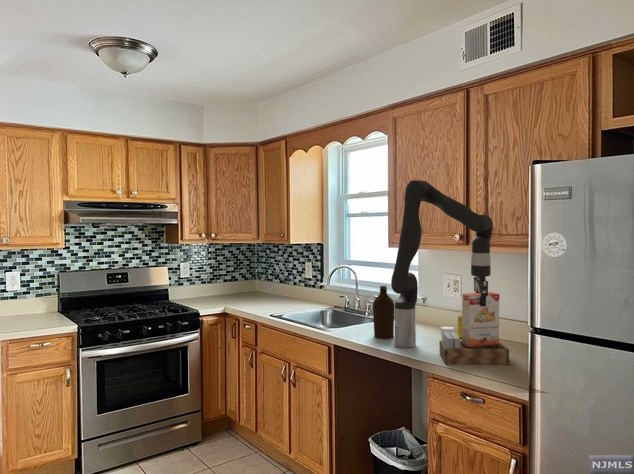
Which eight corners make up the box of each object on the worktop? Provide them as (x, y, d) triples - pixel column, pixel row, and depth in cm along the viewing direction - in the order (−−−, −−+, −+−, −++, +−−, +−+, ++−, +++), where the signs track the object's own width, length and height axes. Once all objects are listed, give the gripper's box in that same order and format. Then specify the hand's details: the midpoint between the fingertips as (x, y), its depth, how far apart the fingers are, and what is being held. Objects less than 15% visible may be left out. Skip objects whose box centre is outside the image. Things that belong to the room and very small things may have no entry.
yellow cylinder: (462, 336, 241) (462, 314, 240) (474, 338, 237) (474, 315, 236) (457, 338, 236) (457, 316, 236) (469, 340, 232) (469, 317, 232)
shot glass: (452, 340, 233) (452, 325, 233) (457, 344, 226) (457, 328, 226) (438, 340, 233) (438, 326, 232) (442, 344, 226) (442, 329, 226)
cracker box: (469, 347, 196) (469, 295, 195) (461, 344, 202) (461, 293, 201) (500, 344, 200) (500, 293, 199) (490, 341, 206) (490, 291, 205)
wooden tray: (445, 364, 195) (445, 349, 195) (439, 354, 209) (439, 340, 209) (509, 364, 193) (508, 349, 193) (499, 355, 207) (499, 340, 207)
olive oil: (398, 338, 239) (397, 286, 238) (377, 339, 236) (377, 287, 236) (389, 333, 249) (389, 284, 248) (370, 335, 247) (369, 285, 246)
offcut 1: (447, 363, 197) (447, 338, 196) (443, 355, 207) (443, 332, 207) (453, 363, 196) (453, 338, 196) (448, 355, 207) (448, 332, 207)
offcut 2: (454, 363, 196) (454, 338, 196) (449, 355, 207) (449, 332, 207) (460, 363, 196) (460, 338, 196) (455, 355, 207) (454, 332, 207)
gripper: (467, 262, 207) (467, 301, 207) (475, 265, 193) (475, 307, 193) (485, 262, 206) (485, 301, 207) (495, 265, 192) (494, 307, 192)
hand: (480, 304), depth 200 cm, fingers closed on cracker box, 7 cm apart
